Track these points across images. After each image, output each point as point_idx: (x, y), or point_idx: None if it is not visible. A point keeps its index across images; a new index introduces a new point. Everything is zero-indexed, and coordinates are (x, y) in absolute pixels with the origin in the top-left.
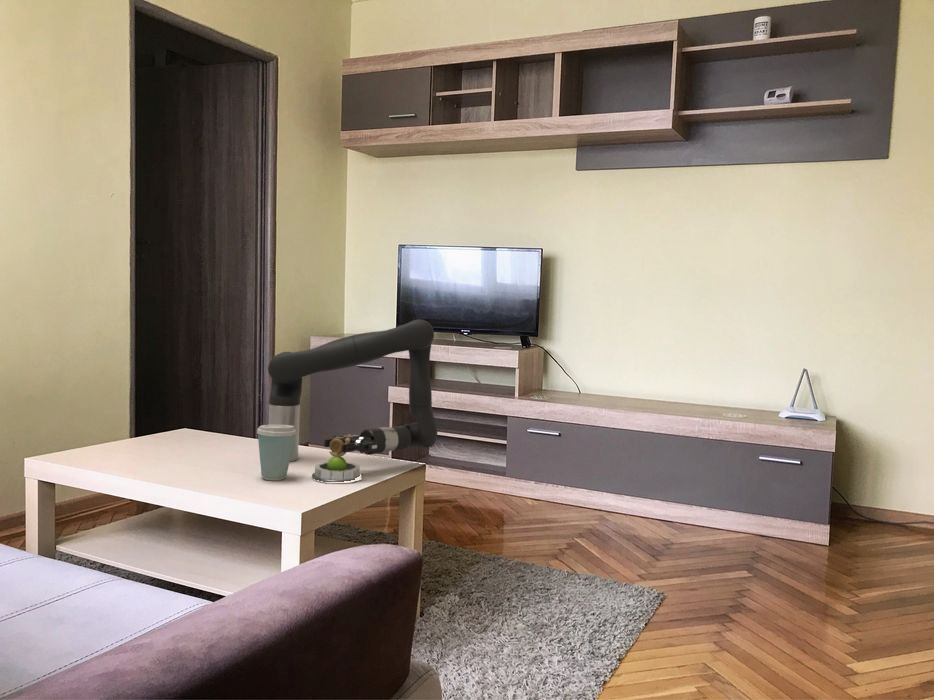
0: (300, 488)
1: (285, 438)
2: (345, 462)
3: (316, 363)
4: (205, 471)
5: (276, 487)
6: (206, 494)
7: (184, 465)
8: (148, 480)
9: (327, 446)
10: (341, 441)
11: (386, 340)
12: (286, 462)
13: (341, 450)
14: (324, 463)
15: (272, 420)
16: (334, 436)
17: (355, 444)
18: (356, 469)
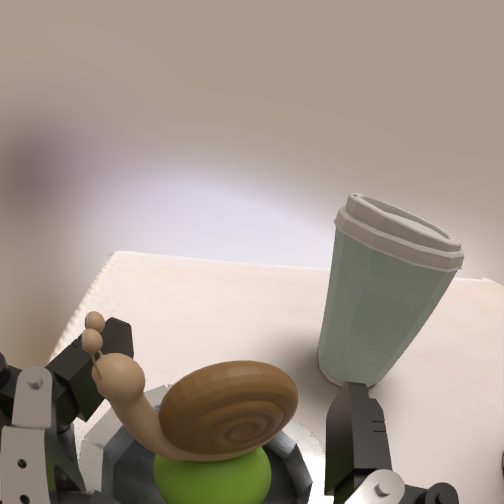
0: (208, 337)
1: (337, 234)
2: (157, 474)
3: None
4: (444, 327)
5: (261, 322)
6: (299, 267)
7: (482, 328)
8: None
9: (328, 425)
10: (182, 378)
11: None
12: (327, 326)
13: (133, 352)
14: (311, 478)
15: None
16: (440, 492)
17: (42, 374)
18: (79, 461)
